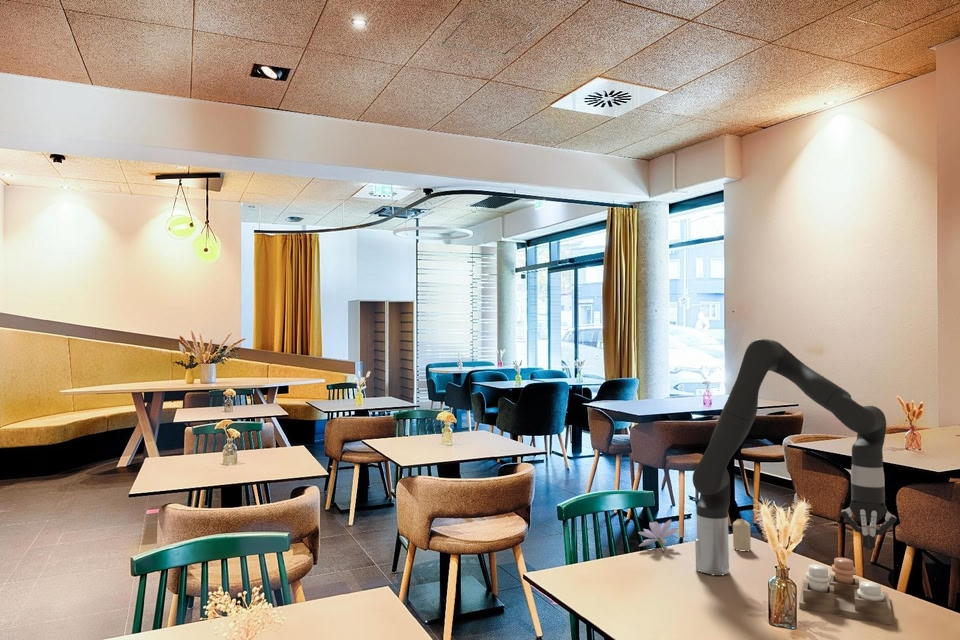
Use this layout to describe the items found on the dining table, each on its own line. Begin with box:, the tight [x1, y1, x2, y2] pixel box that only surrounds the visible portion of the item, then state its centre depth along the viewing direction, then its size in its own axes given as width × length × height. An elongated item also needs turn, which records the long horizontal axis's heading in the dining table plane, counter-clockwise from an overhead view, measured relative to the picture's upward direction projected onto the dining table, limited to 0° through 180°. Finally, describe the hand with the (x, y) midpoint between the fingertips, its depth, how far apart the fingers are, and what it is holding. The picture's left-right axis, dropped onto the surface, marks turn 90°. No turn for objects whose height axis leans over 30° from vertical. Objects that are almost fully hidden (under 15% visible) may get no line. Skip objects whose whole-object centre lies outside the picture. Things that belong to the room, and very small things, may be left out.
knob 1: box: [805, 564, 831, 592], centre depth 173 cm, size 6×6×6 cm
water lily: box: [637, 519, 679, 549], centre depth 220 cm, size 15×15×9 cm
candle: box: [732, 518, 752, 552], centre depth 219 cm, size 6×6×10 cm
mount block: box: [798, 573, 894, 626], centre depth 174 cm, size 21×19×4 cm
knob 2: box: [857, 581, 884, 602], centre depth 167 cm, size 6×6×6 cm
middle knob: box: [831, 557, 857, 584], centre depth 179 cm, size 6×6×6 cm
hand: (869, 549), depth 168 cm, fingers closed
